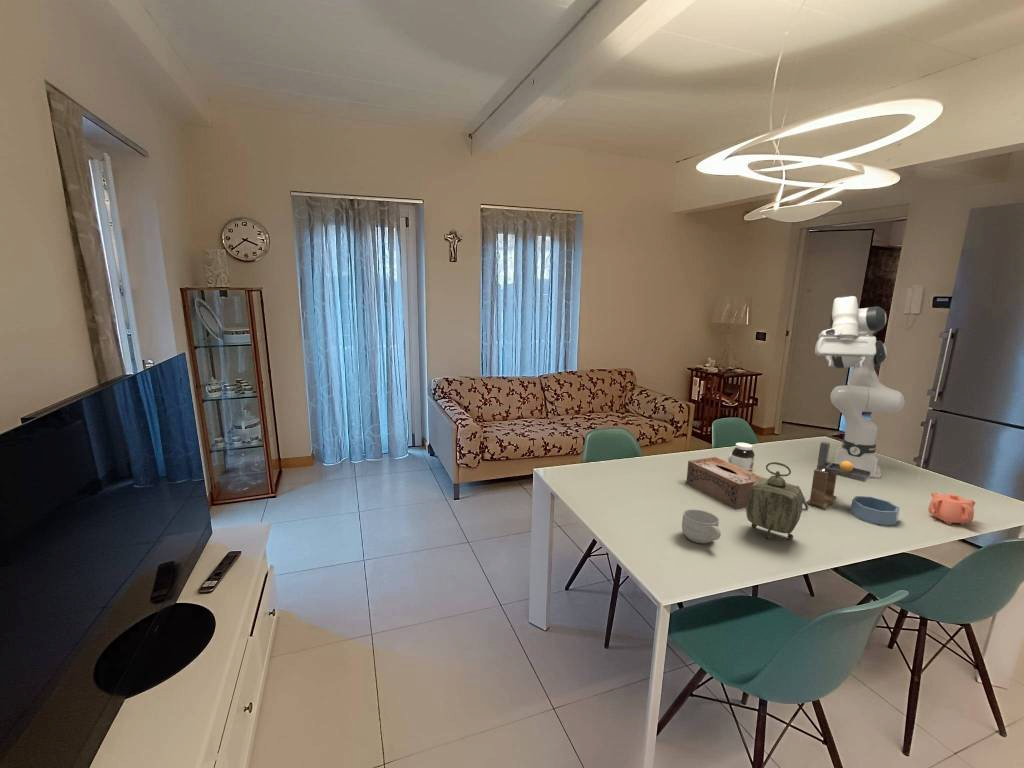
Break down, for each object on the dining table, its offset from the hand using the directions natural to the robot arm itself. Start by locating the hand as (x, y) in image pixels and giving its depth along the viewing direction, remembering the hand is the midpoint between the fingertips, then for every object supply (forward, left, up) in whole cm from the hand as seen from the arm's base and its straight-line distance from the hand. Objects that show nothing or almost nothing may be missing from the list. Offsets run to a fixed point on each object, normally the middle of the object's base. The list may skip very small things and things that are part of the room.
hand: (844, 366), depth 185 cm
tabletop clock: (+68, +1, -50) cm, 84 cm away
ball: (+24, +10, -33) cm, 43 cm away
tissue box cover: (+45, -24, -50) cm, 71 cm away
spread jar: (+12, -32, -50) cm, 60 cm away
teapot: (+6, +38, -50) cm, 63 cm away
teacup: (+88, -12, -50) cm, 101 cm away
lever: (+24, +9, -37) cm, 45 cm away
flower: (+38, -1, -50) cm, 62 cm away
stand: (+24, +4, -49) cm, 55 cm away
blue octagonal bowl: (+24, +20, -49) cm, 59 cm away
